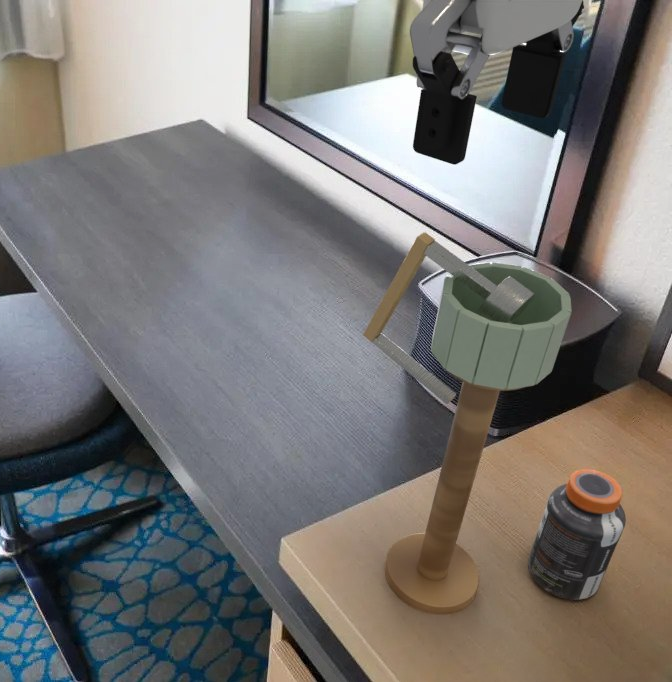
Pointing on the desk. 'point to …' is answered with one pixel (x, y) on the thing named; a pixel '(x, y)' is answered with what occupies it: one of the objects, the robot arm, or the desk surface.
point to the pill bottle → (578, 535)
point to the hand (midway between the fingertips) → (483, 133)
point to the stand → (446, 517)
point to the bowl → (500, 331)
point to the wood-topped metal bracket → (499, 300)
